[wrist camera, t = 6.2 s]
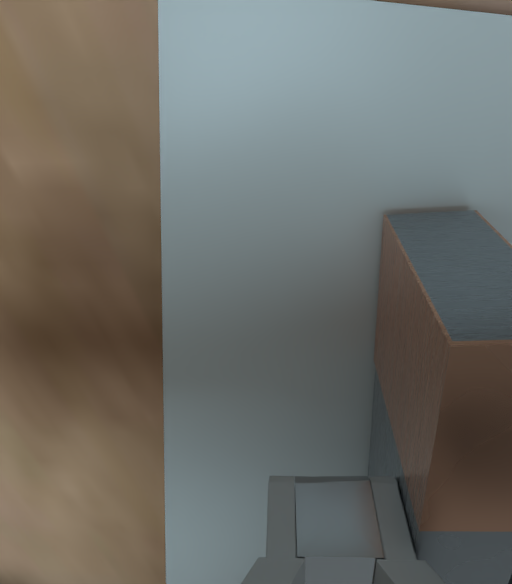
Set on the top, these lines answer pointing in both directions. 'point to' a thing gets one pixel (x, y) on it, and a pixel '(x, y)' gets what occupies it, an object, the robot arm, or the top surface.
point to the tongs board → (299, 232)
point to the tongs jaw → (447, 389)
